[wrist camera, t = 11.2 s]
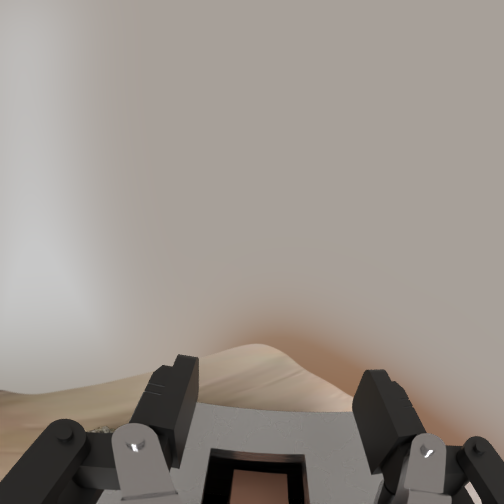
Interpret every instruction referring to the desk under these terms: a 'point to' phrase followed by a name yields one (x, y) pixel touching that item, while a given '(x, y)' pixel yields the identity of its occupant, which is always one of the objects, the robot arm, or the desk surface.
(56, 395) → the desk surface
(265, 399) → the desk surface
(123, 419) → the desk surface
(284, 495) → the salmon orange block
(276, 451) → the coin box
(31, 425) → the desk surface
